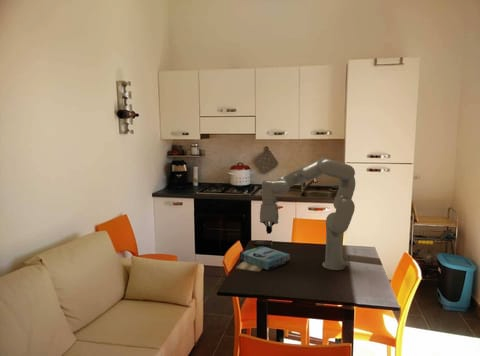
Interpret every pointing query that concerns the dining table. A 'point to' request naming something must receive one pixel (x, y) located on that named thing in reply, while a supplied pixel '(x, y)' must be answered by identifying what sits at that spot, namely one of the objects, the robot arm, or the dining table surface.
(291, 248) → the dining table surface
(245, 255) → the gum box
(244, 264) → the board
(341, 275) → the dining table surface
